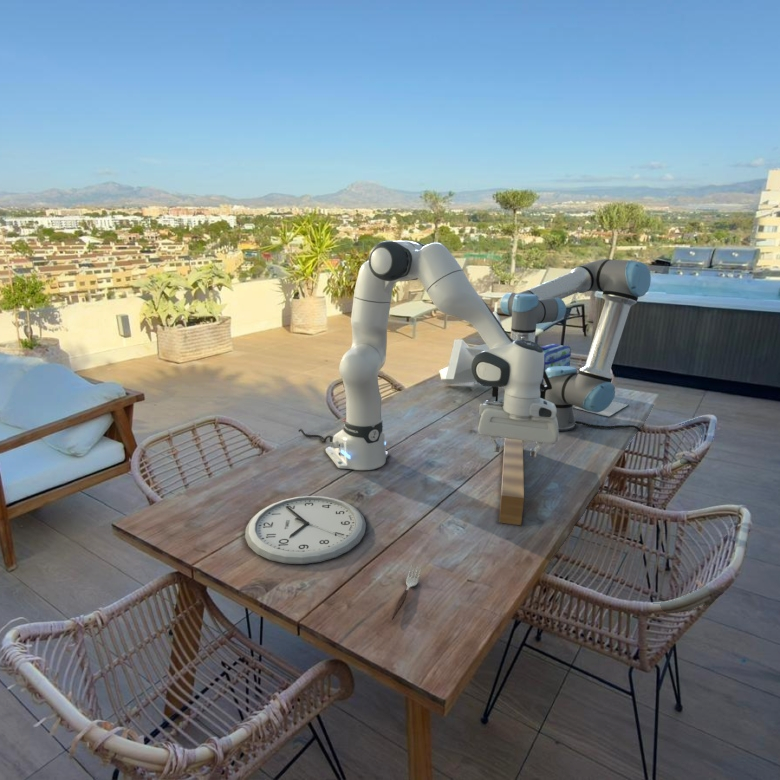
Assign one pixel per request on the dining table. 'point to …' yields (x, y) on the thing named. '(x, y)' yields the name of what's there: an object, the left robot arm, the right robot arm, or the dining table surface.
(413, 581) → the fork
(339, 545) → the wall clock
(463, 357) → the white plastic object
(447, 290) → the left robot arm
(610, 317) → the right robot arm
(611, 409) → the invitation card
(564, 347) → the lunch box
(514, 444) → the bar
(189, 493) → the dining table surface
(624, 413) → the dining table surface
